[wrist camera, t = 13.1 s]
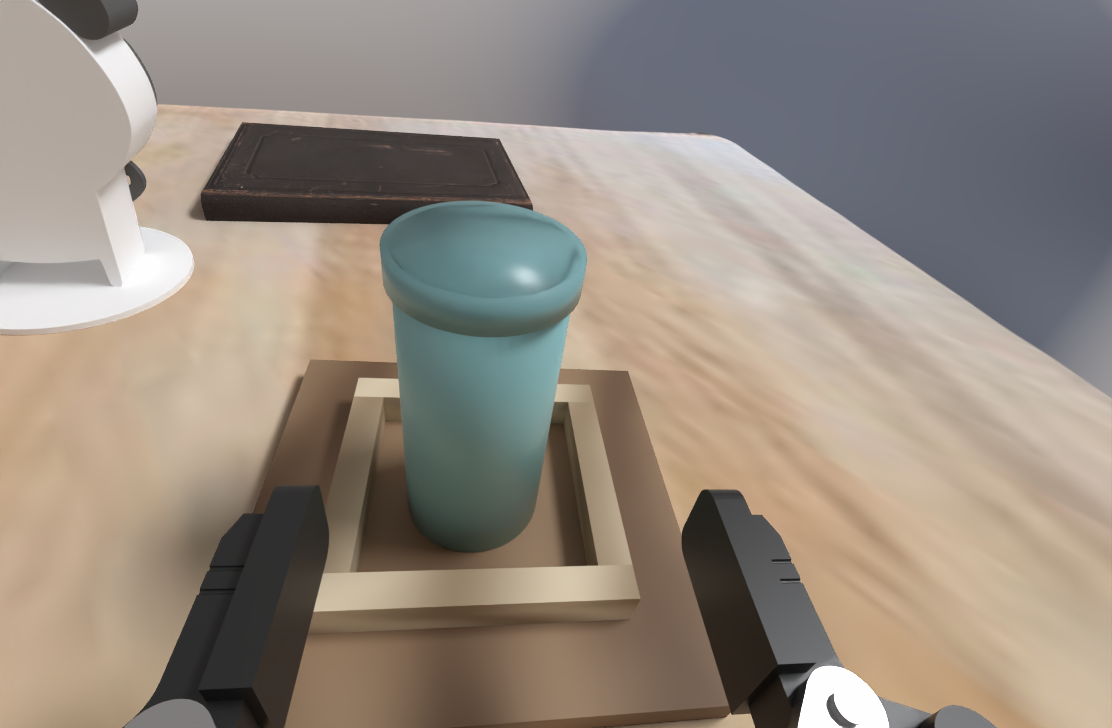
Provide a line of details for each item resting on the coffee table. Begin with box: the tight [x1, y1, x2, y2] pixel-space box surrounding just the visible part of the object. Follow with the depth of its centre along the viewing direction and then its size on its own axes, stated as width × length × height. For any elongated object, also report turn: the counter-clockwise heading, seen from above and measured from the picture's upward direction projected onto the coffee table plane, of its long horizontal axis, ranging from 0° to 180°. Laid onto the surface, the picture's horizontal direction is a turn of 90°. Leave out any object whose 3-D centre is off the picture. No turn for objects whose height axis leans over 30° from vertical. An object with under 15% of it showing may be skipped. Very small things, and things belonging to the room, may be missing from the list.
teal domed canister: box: [380, 201, 587, 553], centre depth 18 cm, size 5×5×11 cm
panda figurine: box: [0, 0, 194, 335], centre depth 26 cm, size 12×11×15 cm
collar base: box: [253, 360, 731, 728], centre depth 21 cm, size 16×16×2 cm
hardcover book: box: [201, 122, 533, 224], centre depth 46 cm, size 16×23×2 cm
